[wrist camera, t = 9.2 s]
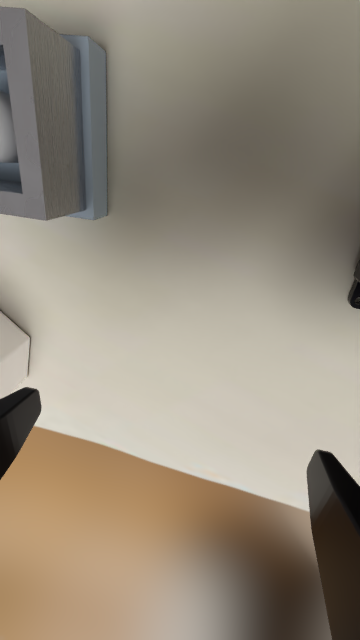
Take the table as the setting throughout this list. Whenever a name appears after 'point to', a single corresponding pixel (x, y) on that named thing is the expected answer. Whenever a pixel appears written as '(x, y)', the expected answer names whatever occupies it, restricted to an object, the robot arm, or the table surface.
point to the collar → (43, 118)
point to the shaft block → (3, 149)
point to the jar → (12, 356)
